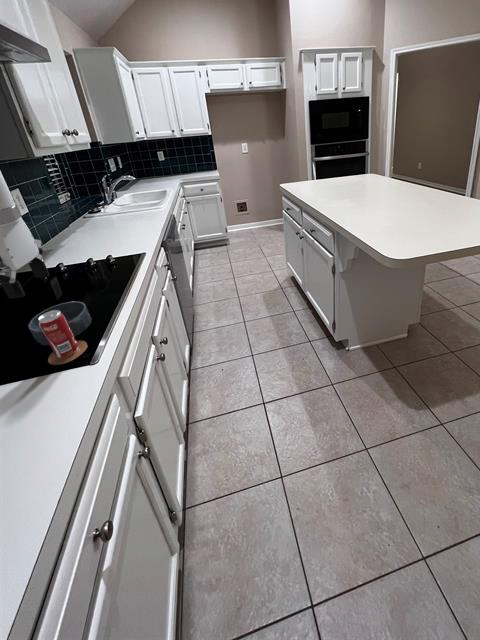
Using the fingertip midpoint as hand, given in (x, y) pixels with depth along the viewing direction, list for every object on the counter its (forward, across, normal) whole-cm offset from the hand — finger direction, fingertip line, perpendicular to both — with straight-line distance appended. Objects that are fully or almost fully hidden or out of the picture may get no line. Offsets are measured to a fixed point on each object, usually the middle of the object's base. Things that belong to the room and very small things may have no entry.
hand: (30, 286), depth 74 cm
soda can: (+21, -1, +1) cm, 21 cm away
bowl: (+21, -12, -5) cm, 25 cm away
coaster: (+21, -1, +1) cm, 21 cm away
